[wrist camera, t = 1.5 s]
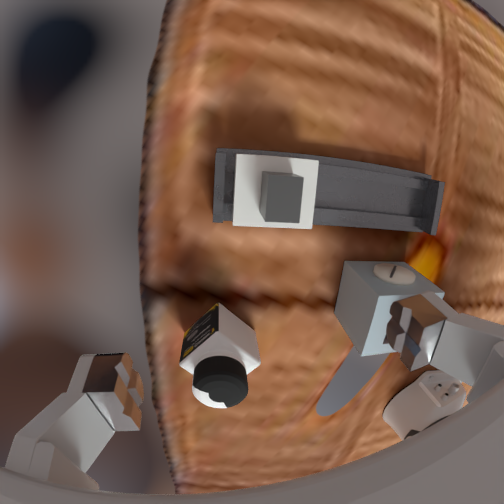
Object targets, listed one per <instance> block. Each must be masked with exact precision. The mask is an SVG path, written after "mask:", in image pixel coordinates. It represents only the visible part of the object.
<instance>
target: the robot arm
mask: <svg viewBox="0 0 504 504" xmlns="http://www.w3.org/2000/svg"><path fill="white" fill-rule="evenodd" d="M389 313H390V314H391V316H392V318H391V319H390V321H389V322H388V323H387V328H386V335H387V340H388V343H389V345H390V346H391V348H392V349H393V350H395V351H397V352H399V353H400V359H401V361H402V362H403V363H404V364H405V366H406V367H407V368H408V369H409V371H410V372H411V371H413V370H416V369H418V368H421V367H423V366H425V365H428V364H430V365H432V366H434V367H435V368H437V369H439V370H434V371H426V372H424V373H423V374H422V375H421V376H420V377H419V378H418V379H417V380H416V381H415V382H414V383H412V384H411V385H409V386H408V387H406V388H405V389H403V390H402V391H401V392H400V393H398V394H397V395H396V396H395V397H394V398H393V399H392V400H391V401H390V403H389V404H388V405H387V407H386V408H385V410H384V413H383V419H384V421H385V422H386V423H388V424H389V425H390V426H391V427H392V428H393V430H394V431H395V432H396V433H397V434H398V436H399V437H400V438H401V440H402V441H401V442H399V443H397V444H394V445H392V446H390V447H388V448H385V449H383V450H381V451H378V452H376V453H373V454H371V455H368V456H366V457H363V458H361V459H358V460H355V461H352V462H350V463H347V464H344V465H341V466H338V467H335V468H332V469H328V470H325V471H322V472H318V473H315V474H311V475H308V476H304V477H300V478H296V479H292V480H288V481H283V482H278V483H274V484H269V485H263V486H258V487H252V488H245V489H238V490H231V491H222V492H212V493H198V494H174V495H155V494H131V493H118V492H108V491H100V490H99V485H98V484H97V483H96V481H94V480H93V479H92V478H90V477H89V476H88V475H87V474H86V471H87V470H88V469H89V467H90V466H91V465H92V463H93V462H94V460H95V459H96V458H97V456H98V455H99V454H100V452H101V451H102V449H103V448H104V447H105V445H106V444H107V442H108V441H109V440H110V438H111V437H112V436H113V434H114V431H134V430H140V423H141V415H142V413H141V411H140V409H139V408H138V406H139V405H140V404H141V403H142V402H143V396H144V392H143V384H142V381H141V378H140V376H139V374H138V372H136V371H135V370H133V369H132V364H133V362H132V360H131V358H130V356H129V354H128V353H109V354H92V355H83V356H81V357H80V358H79V361H78V364H77V366H76V369H75V371H74V374H73V377H72V379H71V382H70V385H69V387H68V390H67V393H62V394H61V395H60V396H58V397H57V398H56V399H55V400H54V401H53V402H52V403H50V404H49V405H48V406H47V407H46V408H45V409H44V410H43V411H41V412H40V413H39V414H38V415H37V416H36V417H35V418H34V419H32V421H30V422H29V423H28V424H27V425H26V426H25V427H24V428H22V429H21V430H20V431H19V432H18V433H17V434H16V435H15V437H14V440H13V443H12V446H11V450H10V453H9V456H8V459H7V462H6V466H5V468H3V467H0V504H504V325H501V324H497V323H494V322H491V321H487V320H484V319H481V318H477V317H474V316H471V315H468V314H464V313H461V314H459V313H457V312H456V311H455V310H454V309H453V308H452V307H450V306H449V305H448V304H447V303H446V302H445V301H443V300H442V299H441V298H440V297H439V296H438V295H436V294H435V293H434V292H433V291H429V290H427V291H425V292H422V293H419V294H417V295H414V296H410V297H407V298H404V299H401V300H398V301H394V302H393V303H392V305H391V307H390V312H389ZM462 382H464V383H466V384H468V385H470V386H472V389H471V390H470V392H469V394H468V395H467V399H466V400H467V401H468V403H469V404H467V405H466V406H464V407H463V408H462V406H463V403H464V400H465V397H466V391H465V388H464V387H463V385H462V384H461V383H462Z"/></svg>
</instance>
